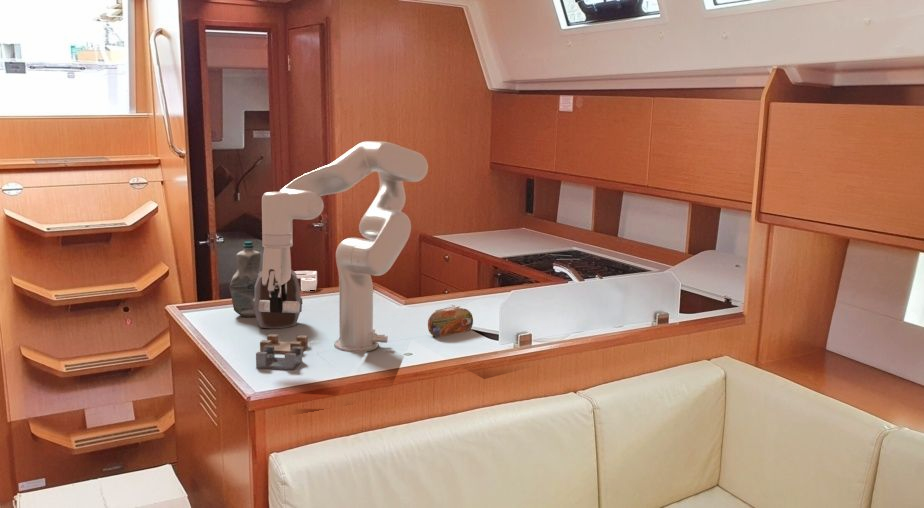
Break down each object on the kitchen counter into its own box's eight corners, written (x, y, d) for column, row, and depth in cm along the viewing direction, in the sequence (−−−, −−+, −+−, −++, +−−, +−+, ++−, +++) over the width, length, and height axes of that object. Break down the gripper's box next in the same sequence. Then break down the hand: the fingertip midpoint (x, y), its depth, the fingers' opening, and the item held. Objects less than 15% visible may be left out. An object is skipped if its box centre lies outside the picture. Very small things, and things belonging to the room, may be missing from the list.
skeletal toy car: (268, 298, 275) (267, 278, 274) (262, 292, 285) (262, 273, 284) (322, 294, 283) (322, 275, 282) (315, 288, 293) (315, 270, 292)
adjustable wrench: (441, 316, 243) (441, 310, 243) (423, 314, 246) (423, 309, 246) (473, 309, 266) (473, 304, 266) (457, 308, 268) (457, 303, 268)
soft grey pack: (253, 332, 230) (252, 267, 227) (252, 325, 238) (250, 262, 235) (304, 328, 235) (303, 265, 232) (300, 322, 243) (300, 260, 239)
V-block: (302, 361, 202) (302, 347, 202) (294, 370, 195) (294, 355, 195) (265, 359, 203) (265, 345, 202) (256, 368, 196) (255, 353, 195)
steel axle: (299, 311, 198) (299, 300, 197) (296, 314, 195) (296, 303, 195) (262, 309, 199) (262, 298, 198) (258, 312, 196) (258, 301, 195)
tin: (431, 340, 226) (431, 313, 224) (426, 338, 228) (426, 310, 227) (473, 334, 234) (474, 307, 232) (467, 331, 236) (468, 305, 235)
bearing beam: (307, 345, 217) (307, 335, 216) (299, 354, 209) (299, 343, 208) (269, 344, 218) (269, 334, 217) (260, 352, 209) (259, 342, 209)
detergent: (270, 313, 253) (269, 239, 249) (273, 318, 247) (272, 242, 243) (229, 316, 248) (227, 240, 244) (231, 321, 242) (229, 243, 238)
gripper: (273, 235, 202) (274, 303, 205) (252, 244, 186) (253, 317, 189) (300, 236, 202) (301, 304, 205) (282, 245, 185) (283, 318, 188)
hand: (278, 309), depth 197 cm, fingers closed on steel axle, 3 cm apart
